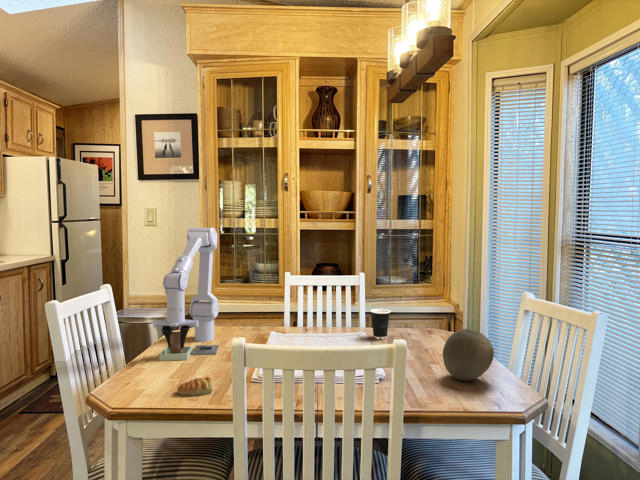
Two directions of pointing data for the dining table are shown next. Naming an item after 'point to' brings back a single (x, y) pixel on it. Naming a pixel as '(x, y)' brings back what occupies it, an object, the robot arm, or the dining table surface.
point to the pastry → (196, 387)
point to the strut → (175, 343)
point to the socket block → (205, 350)
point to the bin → (165, 357)
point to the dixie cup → (380, 322)
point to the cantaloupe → (467, 354)
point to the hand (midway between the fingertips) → (176, 347)
